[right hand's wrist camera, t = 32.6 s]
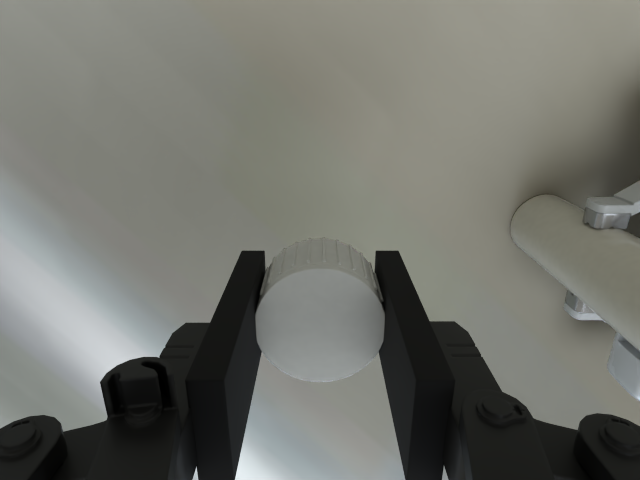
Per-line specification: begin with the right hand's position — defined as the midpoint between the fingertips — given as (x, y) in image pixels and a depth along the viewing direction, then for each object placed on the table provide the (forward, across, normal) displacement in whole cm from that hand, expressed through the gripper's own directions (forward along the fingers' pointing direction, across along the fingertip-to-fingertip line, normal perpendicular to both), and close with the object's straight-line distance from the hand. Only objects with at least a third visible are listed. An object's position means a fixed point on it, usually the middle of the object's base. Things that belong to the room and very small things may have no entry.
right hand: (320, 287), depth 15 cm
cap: (-2, 0, 0) cm, 2 cm away
